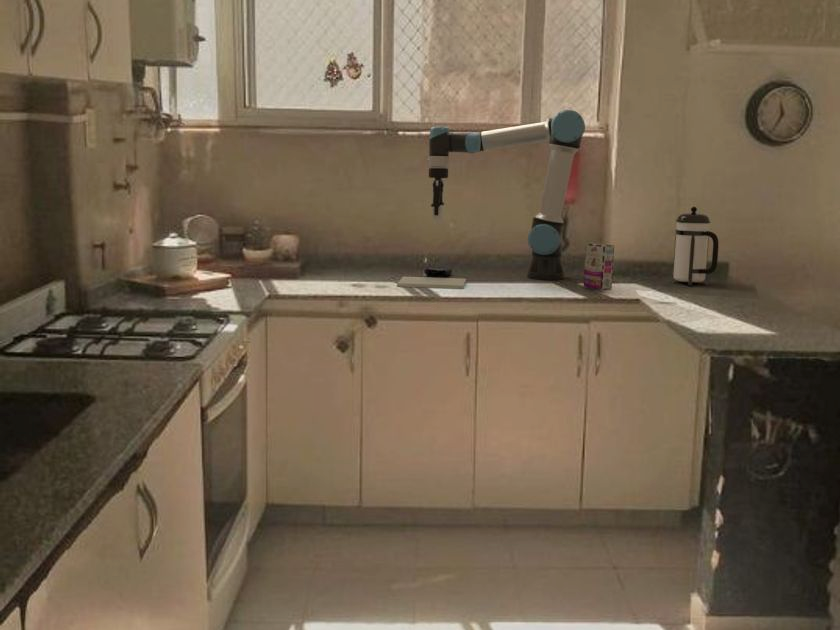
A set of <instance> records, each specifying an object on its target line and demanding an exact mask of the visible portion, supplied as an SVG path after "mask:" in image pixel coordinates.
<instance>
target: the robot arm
mask: <svg viewBox="0 0 840 630" xmlns="http://www.w3.org/2000/svg"><path fill="white" fill-rule="evenodd" d="M545 120H546V121H542V122H535V123H528V124H522V125H517V126H516V125H515V126H509V127H504V128H502V127H501V128H497V129H496V128H495V129H491V130H483V131H477V132H471V131H468V132H464V131H463V132H454V131H453V132H452V131H450V128H449V126H431V128H429V138H428V141H429V142H428V143H429V145H428V146H429V147H428V148H429V150H428V151H429V153H428V155H429V158H427V161H428V165H429V166H428V167H429V169H428V178H430V179H434V180H433V182H432V188H433V189H432V193H433V194H432V195H433V197H432V203H431V204H430V206H431V207H432V225H440V224H441V223H443V206H445V202H443V193H444V181H443V179H447V178H449V168H448V167H449V163H450V156H449V155H450V154H449V153H467V154H475V153H480V152H485V151H491V150H497V149H505V148H510V147H511V148H513V147H517V146H525V145H533V144H539V143H545V142H548V145H549V147H550V151H551V152H550V155H549V160H548V166H547V170H546V175H545V180H544V186H543V188H542V189H543V190H542V194H541V199H540V203H539V209H538V213H536V214H535V215H533V219H532V223H531V227H530V228H531V229H530V231H529V233H528V235H527V242H528V246H529V247H530V249H531V259H530V260H529V261H530V262H529V264H528V267H527V270H526V277H527V278H529V279H535V280H536V279H537V280H563V279H566V271H565V267H564V263H563V259H562V250H563V249H562V247H563V230H564V225H565V223H564V220H563V219H562V218H563V217H562V215H563V214H562V213H563V209H564V204H565V199H566V195H567V190H568V185H569V180H570V175H571V170H572V167H573V162H574V156H575V154H576V153H577V152H578V151H580V149H581V143H582V139H583V135H584V133H585V129H586V124H585V121H584V118H583V117H582V115H581V114H580V113H579V112H578V111H575V110H572V109H565V110H561V111H560V112H558V113H556V114H555V115H554V117H549V118H546V119H545Z"/></svg>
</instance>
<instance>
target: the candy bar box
mask: <svg viewBox="0 0 840 630" xmlns="http://www.w3.org/2000/svg"><path fill="white" fill-rule="evenodd" d="M614 254H615V245H613V244H605V243H596V242H595V243H593V242H588V243H587V242H586V243H585V253H584V266H583V267H584V269H583V270H584V271H583V285H582V287H583V288H589V289H593V290H598V291H612V285H613V271H614V270H613V268H614V267H613V266H614Z"/></svg>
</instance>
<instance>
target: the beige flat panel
mask: <svg viewBox="0 0 840 630" xmlns="http://www.w3.org/2000/svg"><path fill="white" fill-rule="evenodd" d="M466 283H467V281H466V278H458V277H457V278H453V277H452V278H450V277H448V278H447V277H423V276H422V277H419V276H402V277H401V278H400V280H399V281H398V282H397V283H396V287H397V288H423V289H424V288H426V289H428V288H429V289H430V288H431V289H455V290H457V289H458V290H464V288H465V285H466Z"/></svg>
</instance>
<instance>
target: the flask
mask: <svg viewBox="0 0 840 630" xmlns="http://www.w3.org/2000/svg"><path fill="white" fill-rule="evenodd" d="M423 273H424V274H425V275H426V276H431V277H434V278H442V277H444V276H448V275H449V276H450V275H451V274H452V273H453V270H452V269H451V268H445V269H444V268H437V267H429V268H425V269H424V271H423ZM435 274H439V275H435Z"/></svg>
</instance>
